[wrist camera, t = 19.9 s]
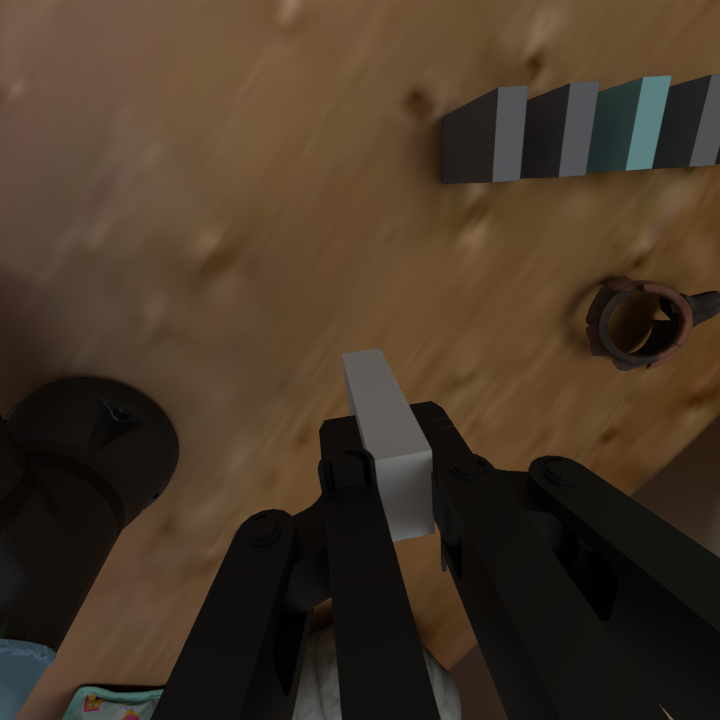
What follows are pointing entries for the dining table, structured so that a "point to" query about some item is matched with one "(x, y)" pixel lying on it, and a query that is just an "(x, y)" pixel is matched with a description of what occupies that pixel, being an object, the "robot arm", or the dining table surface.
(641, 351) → the pottery mug
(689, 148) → the domino
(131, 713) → the lunch bag
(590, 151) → the teal domino
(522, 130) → the domino
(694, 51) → the dining table surface
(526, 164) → the domino
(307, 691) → the gourd
